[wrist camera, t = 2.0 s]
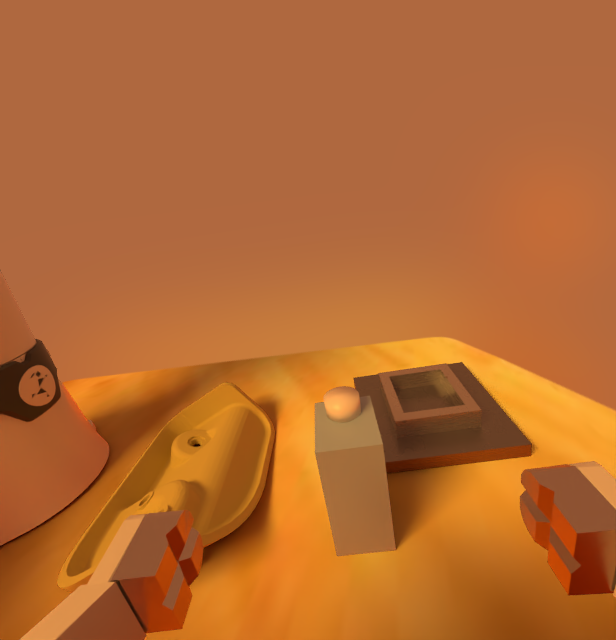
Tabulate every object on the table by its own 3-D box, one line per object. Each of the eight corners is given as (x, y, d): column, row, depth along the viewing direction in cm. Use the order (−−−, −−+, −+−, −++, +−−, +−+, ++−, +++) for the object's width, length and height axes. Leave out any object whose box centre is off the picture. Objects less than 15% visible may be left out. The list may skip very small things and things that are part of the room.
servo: (337, 556, 23) (311, 436, 20) (333, 494, 28) (312, 389, 24) (396, 550, 23) (380, 427, 19) (382, 489, 28) (367, 381, 24)
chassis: (372, 475, 29) (369, 447, 28) (354, 386, 42) (351, 365, 41) (530, 455, 28) (532, 426, 27) (462, 371, 41) (461, 348, 40)
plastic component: (168, 419, 39) (236, 373, 37) (210, 464, 40) (277, 422, 38) (22, 614, 20) (147, 540, 18) (113, 685, 21) (236, 624, 19)
